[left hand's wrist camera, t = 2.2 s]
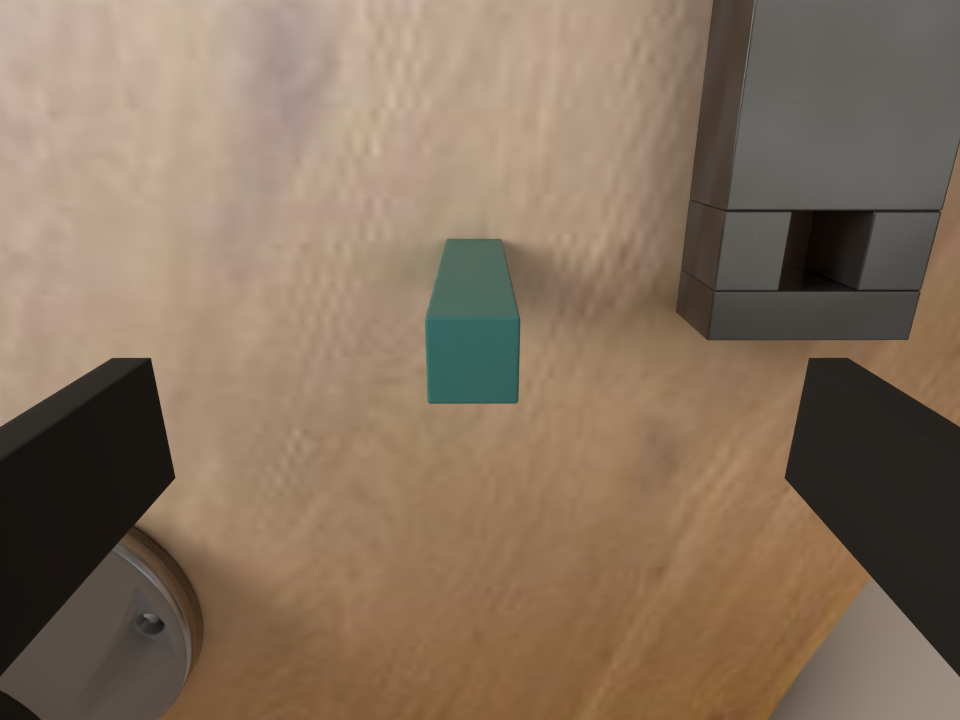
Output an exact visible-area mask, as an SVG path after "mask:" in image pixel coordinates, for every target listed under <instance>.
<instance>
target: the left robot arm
mask: <svg viewBox="0 0 960 720" xmlns="http://www.w3.org/2000/svg"><path fill="white" fill-rule="evenodd" d="M174 479H175V474H174V469H173V464H172V459H171V454H170V449H169V445H168V440H167V435H166V430H165V425H164V420H163V415H162V410H161V406H160V401H159V396H158V391H157V386H156V381H155V376H154V371H153V366H152V362H151V358H112V359H110V360H108V361H107V362H105V363H103V364H102V365H100V366H99V367H97V368H95V369H94V370H92V371H90V372H89V373H87V374H86V375H84V376H82V377H81V378H79V379H77V380H76V381H74V382H73V383H71V384H69V385H68V386H66V387H64V388H63V389H61V390H60V391H58V392H56V393H55V394H53V395H51V396H50V397H48V398H47V399H45V400H43V401H42V402H40V403H38V404H37V405H35V406H34V407H32V408H30V409H29V410H27V411H25V412H24V413H22V414H21V415H19V416H17V417H16V418H14V419H12V420H11V421H9V422H8V423H6V424H4V425H3V426H1V427H0V720H158V719H159V718H160V717H162V716H163V715H164V714H165V713H166V712H167V711H168V710H169V709H170V707H171V706H172V705H173V704H174V702H175V701H176V699H177V698H178V696H179V695H180V693H181V691H182V689H183V687H184V685H185V683H186V681H187V679H188V678H189V676H190V674H191V672H192V670H193V668H194V666H195V664H196V662H197V660H198V657H199V654H200V650H201V646H202V640H203V624H202V616H201V612H200V607H199V604H198V602H197V599H196V596H195V594H194V592H193V590H192V588H191V586H190V584H189V582H188V581H187V579H186V577H185V576H184V574H183V573H182V571H181V570H180V569H179V567H178V566H177V565H176V564H175V562H174V561H173V560H172V559H171V558H170V557H169V556H168V555H167V554H166V553H165V552H164V551H163V550H162V549H161V548H160V547H159V546H158V545H157V544H155V543H154V542H153V541H152V540H150V539H149V538H148V537H147V536H145V535H144V534H143V533H141V532H140V531H138V530H137V529H135V528H134V527H133V525H134V524H135V523H136V522H137V521H138V520H139V519H140V518H141V516H142V515H143V514H144V513H145V512H146V511H147V510H148V508H149V507H150V506H151V505H152V504H153V503H154V502H155V500H156V499H157V498H158V497H159V496H160V495H161V494H162V493H163V491H164V490H165V489H166V488H167V487H168V486H169V485H170V483H171V482H172V481H173V480H174ZM785 479H786V480H787V481H788V482H789V483H790V485H791V486H792V487H793V488H794V489H795V490H796V491H797V493H798V494H799V495H800V496H801V497H802V498H803V499H804V500H805V502H806V503H807V504H808V505H809V506H810V507H811V508H812V510H813V511H814V512H815V513H816V514H817V515H818V516H819V518H820V519H821V520H822V521H823V522H824V523H825V524H826V525H827V527H828V528H829V529H830V530H831V531H832V532H833V533H834V535H835V536H836V537H837V538H838V539H839V540H840V541H841V543H842V544H843V545H844V546H845V547H846V548H847V549H848V550H849V552H850V553H851V554H852V555H853V556H854V557H855V558H856V560H857V561H858V562H859V563H860V564H861V565H862V566H863V568H864V569H865V570H866V571H867V572H868V573H869V574H870V575H871V577H872V578H873V579H874V580H875V581H876V582H877V583H878V584H879V586H880V587H881V588H882V589H883V590H884V591H885V592H886V594H887V595H888V596H889V597H890V598H891V599H892V600H893V602H894V603H895V604H896V605H897V606H898V607H899V608H900V610H901V611H902V612H903V613H904V614H905V615H906V616H907V617H908V619H909V620H910V621H911V622H912V623H913V624H914V625H915V627H916V628H917V629H918V630H919V631H920V632H921V633H922V634H923V636H924V637H925V638H926V639H927V640H928V641H929V642H930V644H931V645H932V646H933V647H934V648H935V649H936V650H937V652H938V653H939V654H940V655H941V656H942V657H943V658H944V659H945V661H946V662H947V663H948V664H949V665H950V666H951V667H952V668H953V670H954V671H955V672H956V673H957V674H958V675H959V676H960V427H959V426H957V425H956V424H954V423H952V422H951V421H949V420H948V419H946V418H944V417H943V416H941V415H939V414H938V413H936V412H935V411H933V410H931V409H930V408H928V407H926V406H925V405H923V404H922V403H920V402H918V401H917V400H915V399H913V398H912V397H910V396H909V395H907V394H905V393H904V392H902V391H900V390H899V389H897V388H896V387H894V386H892V385H891V384H889V383H887V382H886V381H884V380H883V379H881V378H879V377H878V376H876V375H874V374H873V373H871V372H870V371H868V370H866V369H865V368H863V367H861V366H860V365H858V364H857V363H855V362H853V361H852V360H850V359H848V358H809V362H808V366H807V371H806V376H805V381H804V386H803V391H802V396H801V401H800V405H799V410H798V415H797V420H796V425H795V430H794V435H793V440H792V445H791V449H790V454H789V459H788V464H787V469H786V474H785Z"/></svg>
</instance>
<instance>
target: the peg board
mask: <svg viewBox="0 0 960 720" xmlns="http://www.w3.org/2000/svg"><path fill="white" fill-rule="evenodd" d="M959 144H960V0H713V8H712V17H711V25H710V33H709V42H708V50H707V59H706V67H705V75H704V84H703V92H702V101H701V109H700V117H699V126H698V134H697V143H696V151H695V159H694V168H693V176H692V185H691V193H690V201H689V209H688V217H687V226H686V234H685V242H684V251H683V259H682V270H681V277H680V285H679V293H678V302H677V310H676V312H677V313H678V314H679V315H680V316H681V317H682V318H683V319H684V320H686V321H687V322H688V323H689V324H690V325H691V326H692V327H693V328H694V329H696V330H697V331H698V332H699V333H700V334H701V335H702V336H703V337H705V338H706V339H707V340H908V338H909V334H910V330H911V327H912V323H913V319H914V315H915V311H916V308H917V304H918V300H919V296H920V291H918V290H921V288H922V284H923V280H924V276H925V272H926V269H927V265H928V261H929V257H930V253H931V250H932V246H933V242H934V238H935V234H936V230H937V227H938V223H939V219H940V215H941V212H940V210H942V208H943V204H944V201H945V197H946V193H947V189H948V185H949V182H950V178H951V174H952V170H953V166H954V163H955V159H956V155H957V151H958V147H959ZM792 211H816V214H815V219H814V225H813V230H812V235H811V240H810V245H809V251H808V256H807V261H806V266H805V269H807V270H782V267H783V262H784V256H785V250H786V245H787V239H788V234H789V228H790V222H791V217H792Z"/></svg>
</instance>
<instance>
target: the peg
mask: <svg viewBox="0 0 960 720" xmlns="http://www.w3.org/2000/svg"><path fill="white" fill-rule="evenodd" d="M425 332H426V363H427V394H428V402H429V403H430V404H460V403H517V402H518V390H519V351H520V316H519V312H518V308H517V304H516V299H515V295H514V291H513V287H512V283H511V278H510V274H509V270H508V266H507V262H506V257H505V253H504V249H503V245H502V241H501V239H448V240H447V241H446V245H445V248H444V252H443V256H442V259H441V263H440V267H439V270H438V274H437V278H436V281H435V285H434V289H433V292H432V296H431V300H430V303H429V307H428V311H427V314H426V318H425Z"/></svg>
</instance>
